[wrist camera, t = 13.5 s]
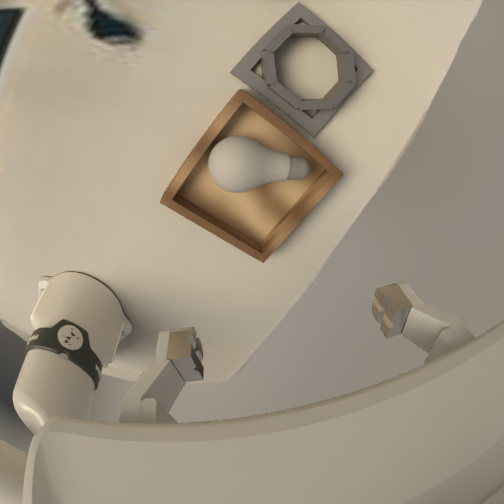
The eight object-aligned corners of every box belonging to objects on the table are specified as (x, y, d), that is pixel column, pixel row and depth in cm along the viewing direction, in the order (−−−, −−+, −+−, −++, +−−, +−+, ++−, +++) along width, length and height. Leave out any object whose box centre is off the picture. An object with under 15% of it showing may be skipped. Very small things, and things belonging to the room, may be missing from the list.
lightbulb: (312, 207, 28) (206, 202, 27) (297, 182, 33) (207, 177, 31) (325, 153, 25) (209, 143, 23) (306, 136, 29) (210, 128, 28)
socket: (311, 135, 30) (318, 139, 28) (229, 72, 25) (231, 71, 23) (369, 70, 25) (380, 70, 23) (296, 4, 20) (303, -2, 18)
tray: (259, 250, 38) (263, 263, 35) (163, 192, 32) (159, 202, 29) (333, 166, 32) (343, 173, 30) (238, 89, 26) (241, 89, 24)
